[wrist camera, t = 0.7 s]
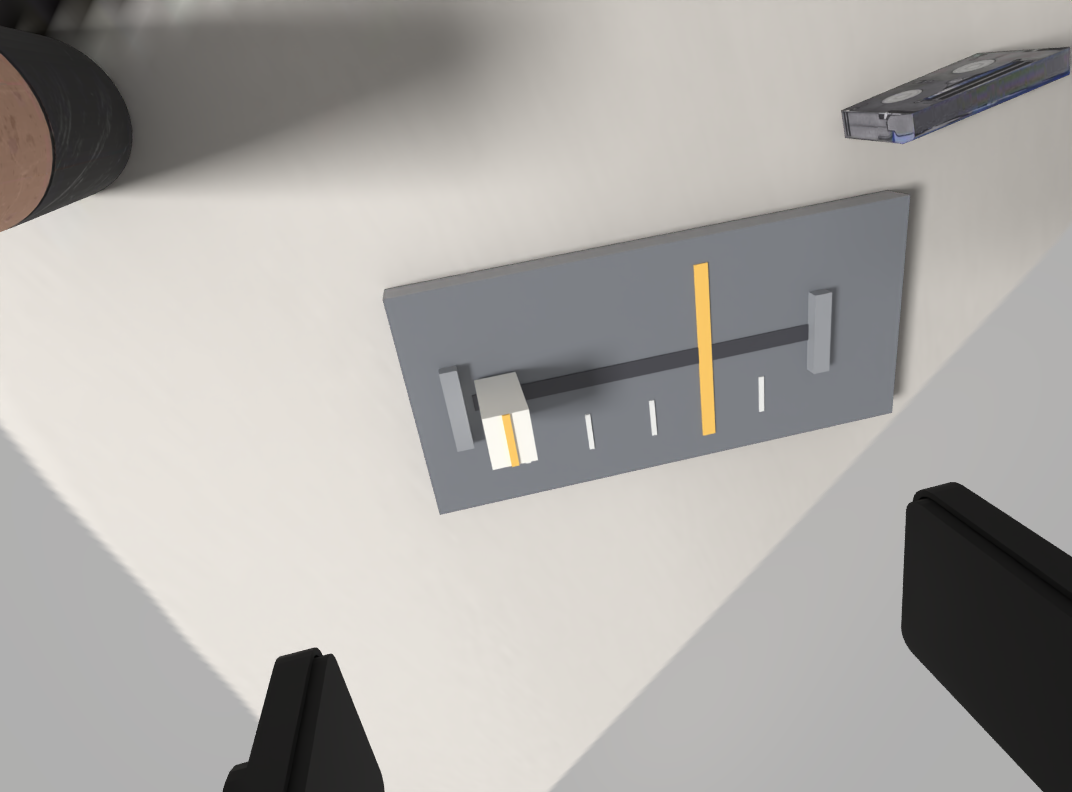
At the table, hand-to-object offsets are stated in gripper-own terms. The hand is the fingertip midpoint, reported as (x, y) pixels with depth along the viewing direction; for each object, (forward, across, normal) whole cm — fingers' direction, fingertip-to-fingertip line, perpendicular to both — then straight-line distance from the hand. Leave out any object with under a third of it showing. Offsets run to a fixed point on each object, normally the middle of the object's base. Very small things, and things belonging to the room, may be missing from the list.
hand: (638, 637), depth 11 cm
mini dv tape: (+30, -26, -4) cm, 39 cm away
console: (+30, -10, +7) cm, 32 cm away
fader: (+28, +1, +7) cm, 28 cm away
